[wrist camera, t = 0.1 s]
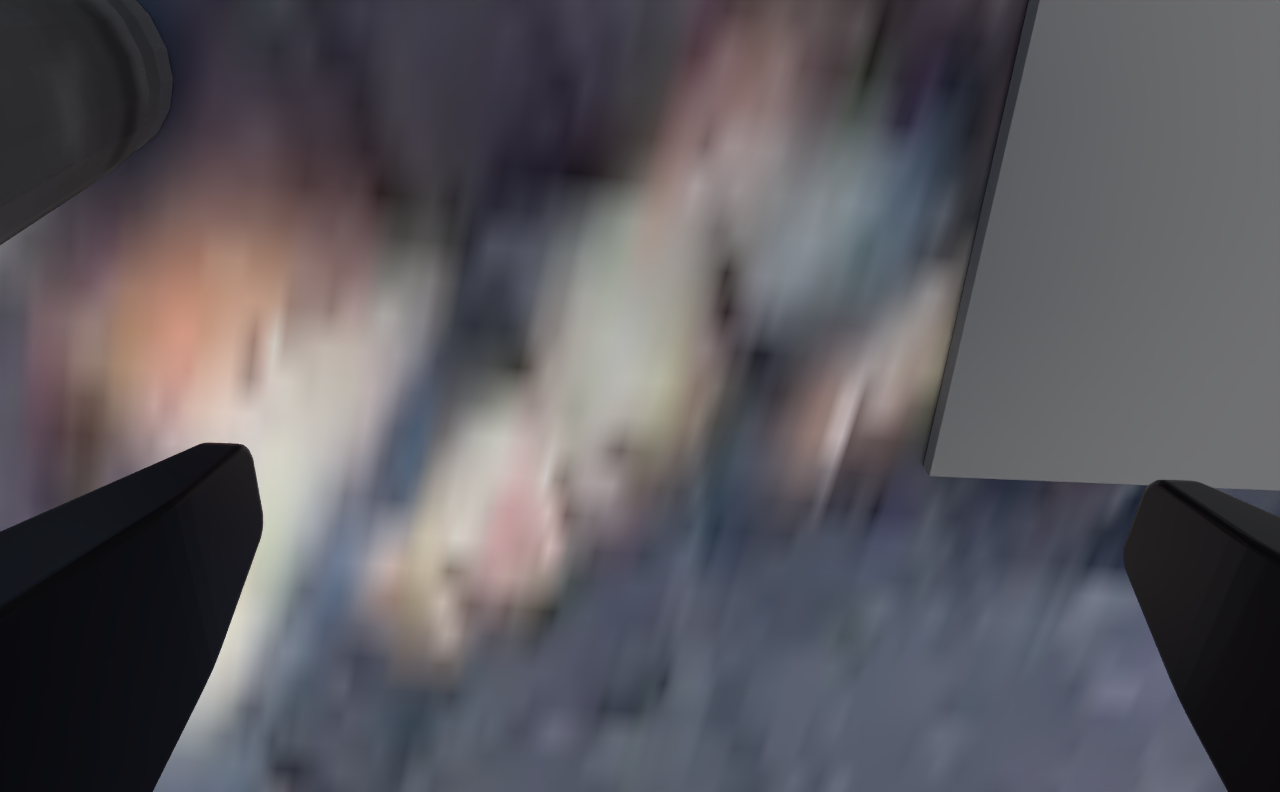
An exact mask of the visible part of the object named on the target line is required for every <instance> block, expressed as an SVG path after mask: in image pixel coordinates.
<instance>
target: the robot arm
mask: <svg viewBox="0 0 1280 792" xmlns="http://www.w3.org/2000/svg"><path fill="white" fill-rule="evenodd" d="M262 530H263V511H262V506H261V500H260V494H259V489H258V483H257V478H256V472H255V467H254V461H253V457H252V455H251V453H250V451H249V449H248V448H247V447H245V446H244V445H242V444H232V443H202V444H199V445H197V446H195V447H192V448H190V449H188V450H185V451H183V452H181V453H179V454H176V455H174V456H172V457H169V458H167V459H165V460H163V461H160V462H158V463H156V464H154V465H151V466H149V467H147V468H144V469H142V470H140V471H138V472H135V473H133V474H131V475H128V476H126V477H124V478H122V479H119V480H117V481H115V482H112V483H110V484H108V485H106V486H103V487H101V488H99V489H97V490H94V491H92V492H90V493H87V494H85V495H83V496H81V497H78V498H76V499H74V500H71V501H69V502H67V503H65V504H62V505H60V506H58V507H55V508H53V509H51V510H49V511H46V512H44V513H42V514H40V515H37V516H35V517H33V518H30V519H28V520H26V521H24V522H21V523H19V524H17V525H14V526H12V527H10V528H8V529H5V530H3V531H1V532H0V792H153V790H154V788H155V786H156V784H157V782H158V780H159V778H160V776H161V774H162V772H163V770H164V768H165V766H166V764H167V762H168V760H169V758H170V756H171V754H172V752H173V750H174V748H175V746H176V744H177V742H178V740H179V738H180V736H181V734H182V732H183V730H184V728H185V726H186V724H187V722H188V720H189V718H190V716H191V714H192V712H193V710H194V708H195V706H196V704H197V702H198V700H199V698H200V696H201V694H202V692H203V689H204V687H205V685H206V683H207V681H208V679H209V677H210V674H211V672H212V670H213V668H214V665H215V663H216V660H217V658H218V655H219V653H220V650H221V648H222V645H223V642H224V639H225V637H226V634H227V631H228V628H229V625H230V623H231V620H232V617H233V614H234V611H235V609H236V606H237V603H238V600H239V598H240V595H241V592H242V589H243V586H244V584H245V581H246V578H247V575H248V572H249V570H250V567H251V564H252V561H253V558H254V556H255V553H256V550H257V547H258V544H259V542H260V539H261V535H262ZM1124 565H1125V569H1126V573H1127V575H1128V577H1129V580H1130V582H1131V585H1132V587H1133V590H1134V592H1135V595H1136V597H1137V599H1138V602H1139V604H1140V607H1141V609H1142V612H1143V614H1144V617H1145V619H1146V622H1147V624H1148V626H1149V629H1150V631H1151V634H1152V636H1153V639H1154V641H1155V644H1156V646H1157V648H1158V651H1159V653H1160V656H1161V658H1162V661H1163V663H1164V666H1165V668H1166V671H1167V673H1168V675H1169V678H1170V680H1171V682H1172V685H1173V687H1174V689H1175V691H1176V694H1177V696H1178V698H1179V700H1180V702H1181V704H1182V706H1183V708H1184V710H1185V712H1186V714H1187V716H1188V718H1189V720H1190V722H1191V724H1192V726H1193V728H1194V730H1195V732H1196V733H1197V735H1198V737H1199V739H1200V741H1201V743H1202V745H1203V746H1204V748H1205V750H1206V752H1207V754H1208V756H1209V758H1210V759H1211V761H1212V763H1213V765H1214V767H1215V769H1216V771H1217V773H1218V774H1219V776H1220V778H1221V780H1222V782H1223V784H1224V786H1225V787H1226V789H1227V791H1228V792H1280V517H1278V516H1276V515H1273V514H1271V513H1269V512H1266V511H1264V510H1262V509H1260V508H1257V507H1255V506H1253V505H1251V504H1248V503H1246V502H1244V501H1241V500H1239V499H1237V498H1235V497H1232V496H1230V495H1228V494H1226V493H1223V492H1221V491H1219V490H1216V489H1214V488H1212V487H1210V486H1207V485H1205V484H1203V483H1200V482H1197V481H1191V480H1156V481H1154V482H1153V483H1151V484H1150V485H1149V486H1148V487H1147V488H1146V490H1145V492H1144V494H1143V496H1142V499H1141V502H1140V504H1139V507H1138V510H1137V513H1136V515H1135V518H1134V521H1133V524H1132V526H1131V529H1130V532H1129V534H1128V537H1127V540H1126V543H1125V547H1124Z"/></svg>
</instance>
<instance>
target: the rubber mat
mask: <svg viewBox="0 0 1280 792" xmlns="http://www.w3.org/2000/svg"><path fill="white" fill-rule="evenodd" d="M924 467H925V469H926V471H927V473H928V474H929V476H936V477H961V478H985V479H1010V480H1035V481H1059V482H1084V483H1108V484H1133V485H1150V484H1151V483H1153V482H1154V481H1156V480H1191V481H1197V482H1200V483H1203V484H1205V485H1207V486H1210V487H1212V488H1231V489H1256V490H1280V0H1029V2H1028V7H1027V11H1026V15H1025V20H1024V24H1023V29H1022V33H1021V37H1020V42H1019V46H1018V51H1017V55H1016V59H1015V64H1014V68H1013V73H1012V77H1011V81H1010V86H1009V90H1008V95H1007V99H1006V104H1005V108H1004V112H1003V117H1002V121H1001V126H1000V130H999V134H998V139H997V143H996V148H995V152H994V156H993V161H992V165H991V170H990V174H989V179H988V183H987V187H986V192H985V196H984V201H983V205H982V209H981V214H980V218H979V223H978V227H977V231H976V236H975V240H974V245H973V249H972V253H971V258H970V262H969V267H968V271H967V276H966V280H965V284H964V289H963V293H962V298H961V302H960V306H959V311H958V315H957V320H956V324H955V328H954V333H953V337H952V342H951V346H950V350H949V355H948V359H947V364H946V368H945V373H944V377H943V381H942V386H941V390H940V395H939V399H938V403H937V408H936V412H935V417H934V421H933V425H932V430H931V434H930V439H929V443H928V448H927V452H926V456H925V461H924Z"/></svg>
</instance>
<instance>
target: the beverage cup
mask: <svg viewBox="0 0 1280 792" xmlns="http://www.w3.org/2000/svg"><path fill="white" fill-rule="evenodd" d="M172 86H173V76H172V72H171V67H170V62H169V57H168V52H167V48H166V46H165V44H164V42H163V40H162V38H161V36H160V34H159V32H158V30H157V28H156V26H155V24H154V22H153V20H152V18H151V16H150V15H149V14H148V13H147V12H146V11H145V10H144V8H143V7H142V6H141V5H140V4H139V3H138V2H137V0H0V245H1V244H3V243H4V242H6V241H7V240H9V239H10V238H12V237H13V236H15V235H16V234H18V233H19V232H21V231H22V230H24V229H25V228H27V227H28V226H30V225H31V224H33V223H34V222H36V221H37V220H39V219H41V218H42V217H44V216H45V215H47V214H48V213H50V212H51V211H53V210H54V209H56V208H57V207H59V206H60V205H62V204H63V203H65V202H66V201H68V200H69V199H71V198H72V197H74V196H75V195H77V194H78V193H80V192H81V191H83V190H84V189H86V188H88V187H89V186H91V185H92V184H94V183H95V182H97V181H98V180H100V179H101V178H103V177H104V176H106V175H107V174H109V173H110V172H112V171H113V170H114V169H115V168H116V167H117V166H118V165H120V164H121V163H122V162H123V161H124V160H125V159H127V158H128V157H129V156H130V155H131V154H132V153H133V152H135V151H137V150H139V149H140V148H141V147H143V146H144V145H145V144H146V143H147V142H148V141H149V140H151V139H152V138H153V137H154V136H155V135H156V134H158V132H159V130H160V128H161V126H162V124H163V122H164V120H165V118H166V116H167V114H168V112H169V110H170V106H171V96H172Z"/></svg>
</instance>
